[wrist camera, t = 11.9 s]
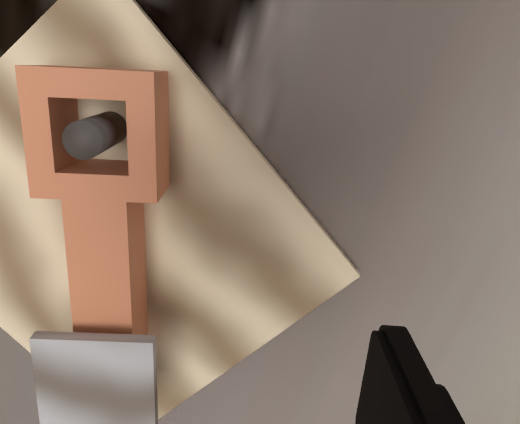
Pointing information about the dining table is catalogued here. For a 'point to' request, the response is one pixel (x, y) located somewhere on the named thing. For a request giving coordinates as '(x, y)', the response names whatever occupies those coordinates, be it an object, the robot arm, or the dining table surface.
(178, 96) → the board
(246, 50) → the dining table surface
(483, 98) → the dining table surface
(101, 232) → the link
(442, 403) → the robot arm
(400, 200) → the dining table surface
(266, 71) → the dining table surface
